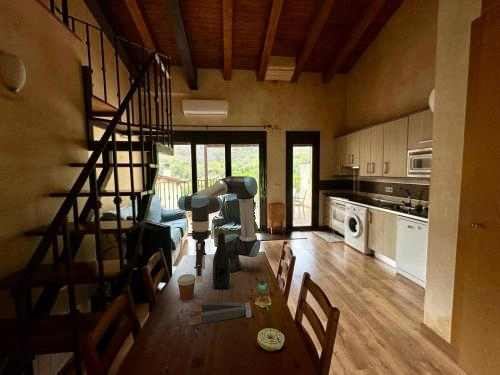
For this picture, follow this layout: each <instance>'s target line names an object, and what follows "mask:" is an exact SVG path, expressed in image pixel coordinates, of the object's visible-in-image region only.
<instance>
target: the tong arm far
mask: <svg viewBox="0 0 500 375" xmlns="http://www.w3.org/2000/svg"><path fill="white" fill-rule="evenodd" d="M241 306H244V307H245V302H244V303H243V302H220V301H192V303H191V312H196V313H201V312H208V311H214V310H221V309H228V308H234V307H241Z"/></svg>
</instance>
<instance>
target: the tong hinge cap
mask: <svg viewBox="0 0 500 375" xmlns="http://www.w3.org/2000/svg"><path fill="white" fill-rule="evenodd" d="M244 304H245V318H246V319H247V318H252V307H251V302H244Z"/></svg>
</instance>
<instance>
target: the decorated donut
mask: <svg viewBox="0 0 500 375" xmlns="http://www.w3.org/2000/svg"><path fill="white" fill-rule="evenodd" d="M256 341H257V343H258V346H259V347H260V348H262V349H263V350H265V351H267V352H276V351H279V350H280V349H282V348H283V346H284V345H285V335H284V334H283V333H282V331H279V329H276V328H273V327H269V328H268V327H266V328H262V329H261V330H260V331H259V332H258V333H257V340H256Z"/></svg>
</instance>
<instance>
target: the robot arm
mask: <svg viewBox="0 0 500 375" xmlns="http://www.w3.org/2000/svg"><path fill="white" fill-rule="evenodd" d="M225 195H236V199H237V200H238V201H239V202H238V203H239V218H240V219H239V220H240V232H241V234H240V235H239V234H237V233H232V234H231V233H229V234H225V247H226V250H227V253H228V255H229V259H230V273H237V272H239V271H241V269H242V263H241V259H240V256H243V257H248V258H256V257H257V256H258V255H259V252H260V250H261V240H260V239H258V236H257V235H256V234H255V221H254V199H255V197H256V195H258V182H257V180H256V178H255V177H253V176H249V175H242V176H241V175H235V176H234V175H231V176H227V177H223V178H221V179H218V180H216V181H215V182H214V184H212V185H210V186H207V187H206V188H203V189H201V190H199V191H197V192H195V193H192V194H190V195H181V196H180V197H179V198H178V201H177V206H178V209H179V210H181V211H185V212H191V222H190V225H191V239H192V240H194V241H196V242H195V266H193V269H194V270H195V275H196V276H195V278H196V281H195V284H198V283H199V284H201V283H202V284H203V282H204V279H203V278H204V276H203V272H204V271H203V270H206V256H207V252H206V241H205V240H207V239H209V237H210V230H209V229H210V219H209V218H210V215H211V214H214V213H218V212H219V211H221V210H222V209H223V207H224V202H223V199H222V198H221V197H219V196H225Z"/></svg>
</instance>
